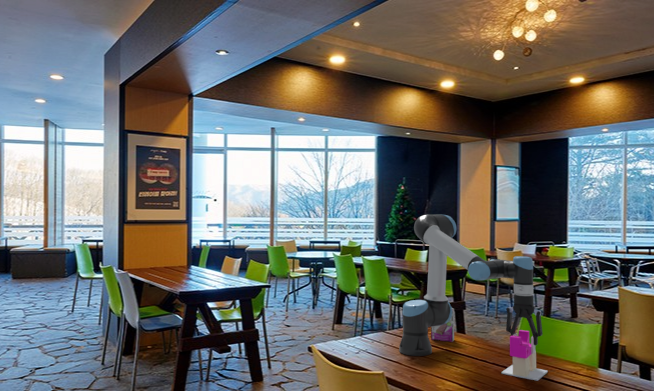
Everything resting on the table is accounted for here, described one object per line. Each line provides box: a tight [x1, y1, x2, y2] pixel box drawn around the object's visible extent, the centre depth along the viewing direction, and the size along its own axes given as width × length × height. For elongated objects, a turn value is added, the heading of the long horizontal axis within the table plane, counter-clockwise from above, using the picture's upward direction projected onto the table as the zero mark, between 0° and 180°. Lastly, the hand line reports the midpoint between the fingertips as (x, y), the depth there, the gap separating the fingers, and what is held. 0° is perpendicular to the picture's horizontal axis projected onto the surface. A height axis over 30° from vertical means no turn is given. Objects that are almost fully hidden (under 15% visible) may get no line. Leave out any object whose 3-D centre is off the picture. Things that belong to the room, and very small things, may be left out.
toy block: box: [509, 329, 532, 358], centre depth 201 cm, size 15×6×8 cm, turn 144°
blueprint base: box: [501, 350, 549, 381], centre depth 202 cm, size 14×14×8 cm
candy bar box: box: [430, 307, 455, 343], centre depth 256 cm, size 11×5×16 cm, turn 66°
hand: (524, 351), depth 202 cm, fingers closed on toy block, 6 cm apart
